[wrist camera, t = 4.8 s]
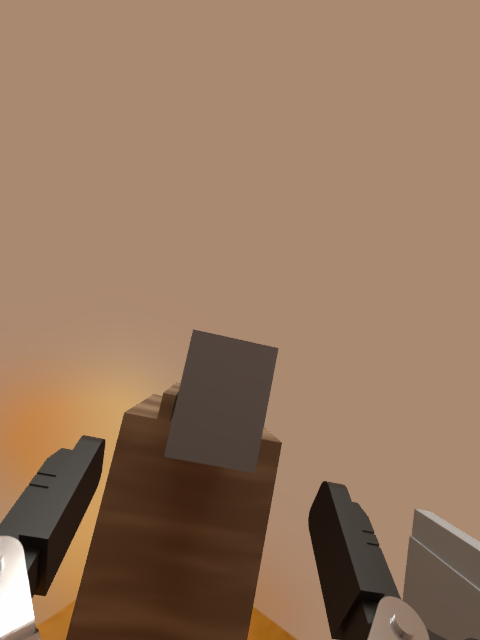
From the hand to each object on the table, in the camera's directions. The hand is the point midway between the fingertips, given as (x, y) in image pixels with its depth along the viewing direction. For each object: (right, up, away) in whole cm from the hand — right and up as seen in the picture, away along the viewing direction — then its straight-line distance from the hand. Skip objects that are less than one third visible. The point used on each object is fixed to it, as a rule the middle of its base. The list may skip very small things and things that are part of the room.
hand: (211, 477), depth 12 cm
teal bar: (-2, -2, +13) cm, 13 cm away
